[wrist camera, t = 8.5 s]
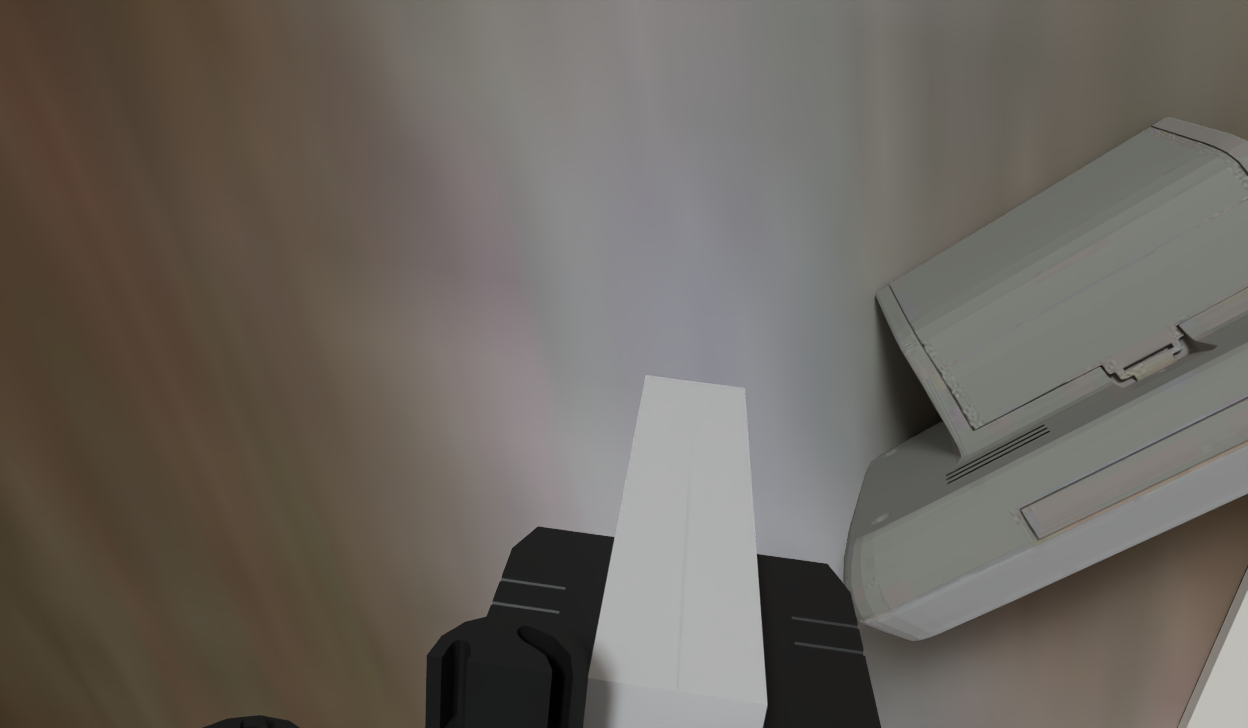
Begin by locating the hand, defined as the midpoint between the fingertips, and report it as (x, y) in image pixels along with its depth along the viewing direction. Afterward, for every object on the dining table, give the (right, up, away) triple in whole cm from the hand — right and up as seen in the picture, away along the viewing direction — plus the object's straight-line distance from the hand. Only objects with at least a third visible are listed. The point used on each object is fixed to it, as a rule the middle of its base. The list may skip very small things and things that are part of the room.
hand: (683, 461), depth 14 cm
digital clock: (+12, +3, +13) cm, 18 cm away
